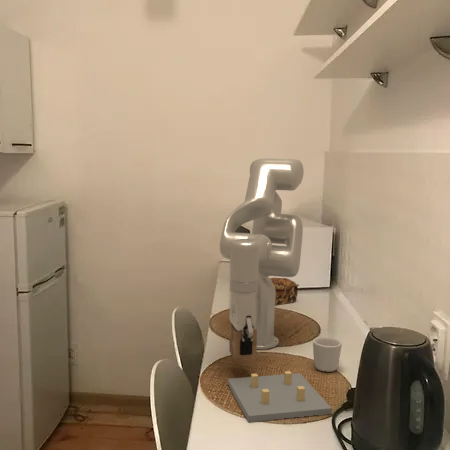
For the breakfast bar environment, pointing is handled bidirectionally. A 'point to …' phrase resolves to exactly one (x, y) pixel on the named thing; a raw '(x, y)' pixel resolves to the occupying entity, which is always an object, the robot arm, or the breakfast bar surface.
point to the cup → (326, 353)
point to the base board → (277, 397)
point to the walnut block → (235, 344)
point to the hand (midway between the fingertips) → (242, 348)
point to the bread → (284, 290)
